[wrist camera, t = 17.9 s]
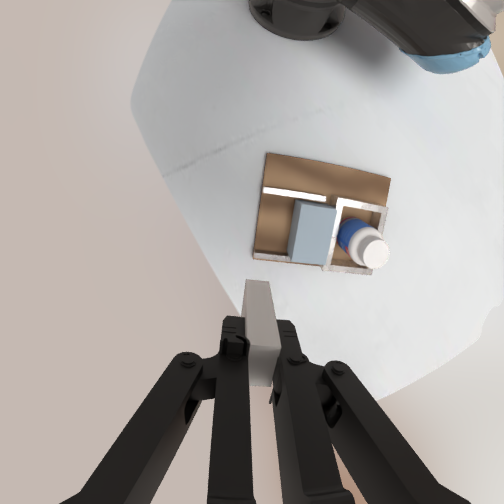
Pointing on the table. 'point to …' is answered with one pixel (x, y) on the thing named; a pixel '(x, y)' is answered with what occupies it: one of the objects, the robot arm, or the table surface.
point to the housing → (311, 232)
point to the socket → (338, 203)
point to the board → (312, 181)
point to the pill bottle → (362, 243)
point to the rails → (292, 193)
